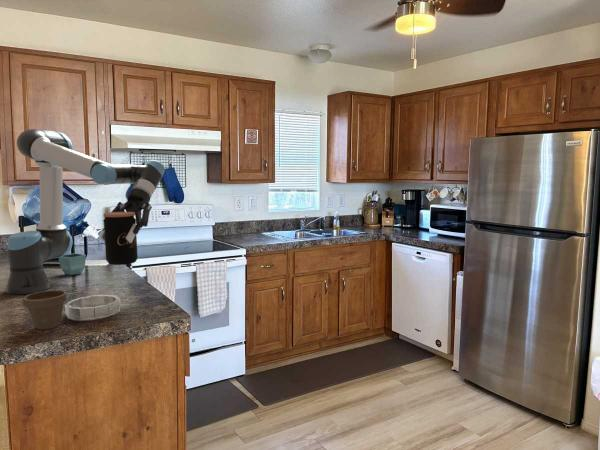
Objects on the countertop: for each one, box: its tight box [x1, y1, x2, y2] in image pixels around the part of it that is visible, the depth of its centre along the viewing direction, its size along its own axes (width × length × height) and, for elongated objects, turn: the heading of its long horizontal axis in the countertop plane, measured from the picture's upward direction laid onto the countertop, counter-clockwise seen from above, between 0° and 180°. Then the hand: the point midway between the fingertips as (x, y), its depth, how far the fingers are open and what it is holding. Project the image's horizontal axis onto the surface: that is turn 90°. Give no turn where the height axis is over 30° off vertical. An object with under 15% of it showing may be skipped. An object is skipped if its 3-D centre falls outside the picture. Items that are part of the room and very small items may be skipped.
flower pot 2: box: [58, 252, 87, 276], centre depth 217 cm, size 9×9×9 cm
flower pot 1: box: [22, 289, 68, 330], centre depth 141 cm, size 12×11×10 cm
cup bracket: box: [64, 294, 122, 322], centre depth 155 cm, size 16×16×4 cm
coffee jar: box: [103, 211, 138, 266], centre depth 167 cm, size 11×11×18 cm
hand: (115, 240), depth 164 cm, fingers closed on coffee jar, 11 cm apart
